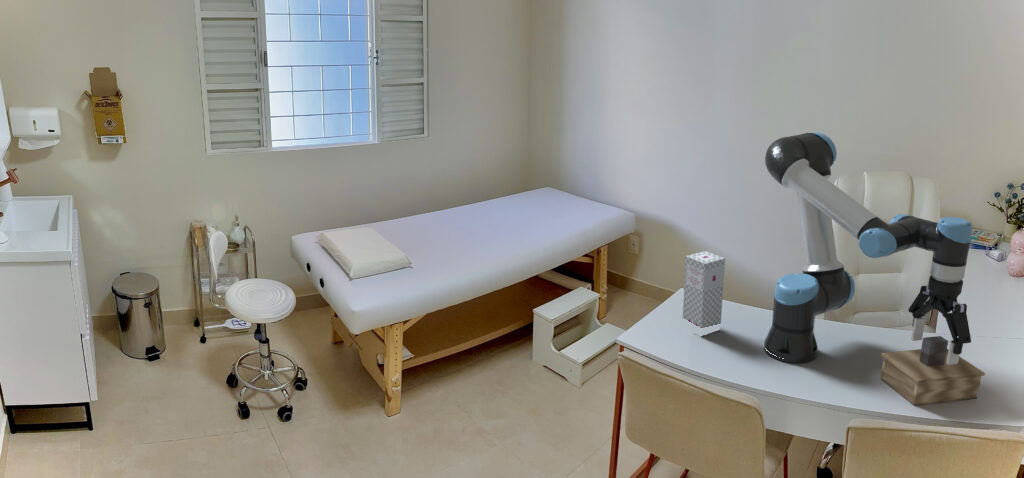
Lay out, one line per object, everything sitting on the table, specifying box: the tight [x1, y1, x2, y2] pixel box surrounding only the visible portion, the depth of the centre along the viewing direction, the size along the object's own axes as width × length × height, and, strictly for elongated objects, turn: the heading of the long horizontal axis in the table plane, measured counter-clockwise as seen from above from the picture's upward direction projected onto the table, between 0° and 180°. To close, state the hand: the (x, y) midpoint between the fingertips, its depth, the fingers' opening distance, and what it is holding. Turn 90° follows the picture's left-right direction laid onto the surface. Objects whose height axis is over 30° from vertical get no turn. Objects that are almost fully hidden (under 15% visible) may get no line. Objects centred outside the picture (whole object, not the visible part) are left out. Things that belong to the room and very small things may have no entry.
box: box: [682, 250, 726, 328], centre depth 228 cm, size 8×8×25 cm
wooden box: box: [880, 357, 982, 406], centre depth 192 cm, size 18×14×7 cm
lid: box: [880, 335, 986, 383], centre depth 190 cm, size 19×15×8 cm
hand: (933, 351), depth 190 cm, fingers open, 13 cm apart
